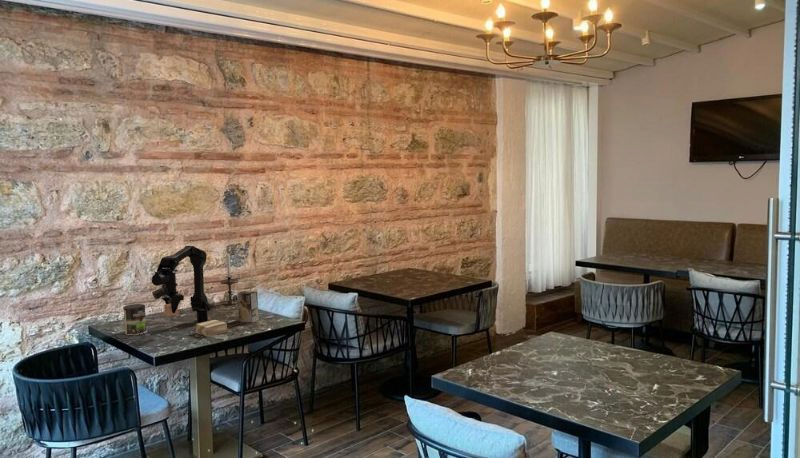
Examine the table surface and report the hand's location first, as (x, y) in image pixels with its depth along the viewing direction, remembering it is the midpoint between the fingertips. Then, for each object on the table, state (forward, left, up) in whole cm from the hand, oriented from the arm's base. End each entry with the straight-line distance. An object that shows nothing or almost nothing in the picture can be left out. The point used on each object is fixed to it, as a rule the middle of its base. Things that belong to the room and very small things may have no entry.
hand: (171, 312), depth 292 cm
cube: (0, 0, -1) cm, 1 cm away
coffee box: (+3, +41, -12) cm, 43 cm away
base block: (+10, +16, -12) cm, 22 cm away
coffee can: (-18, -12, -12) cm, 25 cm away
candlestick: (-43, +53, -12) cm, 69 cm away
